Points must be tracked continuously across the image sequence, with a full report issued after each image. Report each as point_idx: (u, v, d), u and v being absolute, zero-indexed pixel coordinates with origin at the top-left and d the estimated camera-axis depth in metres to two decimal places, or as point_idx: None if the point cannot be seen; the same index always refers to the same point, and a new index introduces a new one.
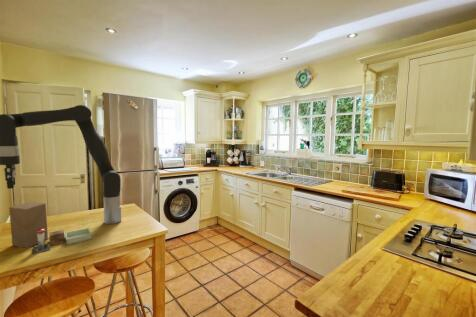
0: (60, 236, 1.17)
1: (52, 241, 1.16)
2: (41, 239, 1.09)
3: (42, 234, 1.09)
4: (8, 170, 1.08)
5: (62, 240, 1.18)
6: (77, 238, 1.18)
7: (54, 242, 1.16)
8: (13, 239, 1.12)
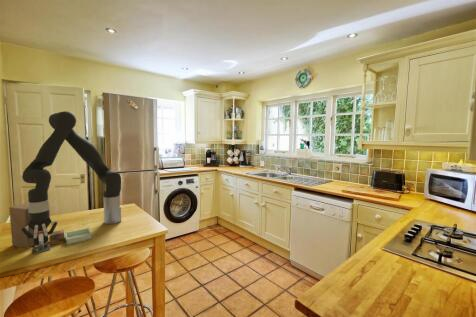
0: (60, 236, 1.17)
1: (52, 241, 1.16)
2: (41, 239, 1.09)
3: (42, 234, 1.09)
4: None
5: (62, 240, 1.18)
6: (77, 238, 1.18)
7: (54, 242, 1.16)
8: (13, 239, 1.12)
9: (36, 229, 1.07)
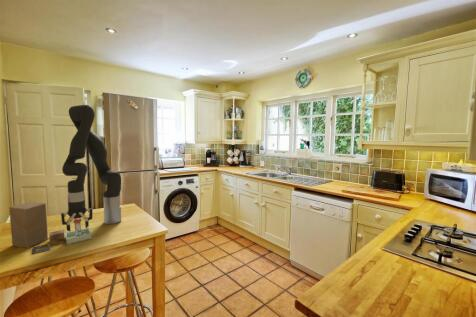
0: (60, 236, 1.17)
1: (53, 241, 1.16)
2: (78, 228, 1.21)
3: (79, 224, 1.21)
4: None
5: (62, 240, 1.18)
6: (77, 238, 1.18)
7: (54, 242, 1.16)
8: (13, 239, 1.12)
9: (72, 217, 1.18)
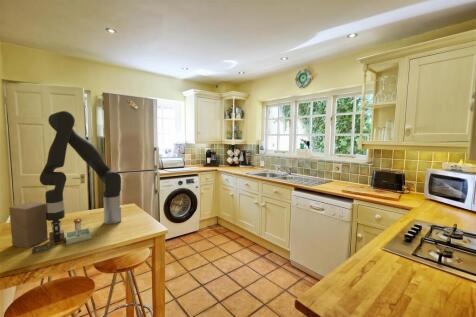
0: (60, 236, 1.17)
1: (53, 241, 1.16)
2: (78, 228, 1.21)
3: (79, 223, 1.21)
4: None
5: (62, 240, 1.18)
6: (77, 238, 1.18)
7: None
8: (13, 239, 1.12)
9: (60, 226, 1.17)
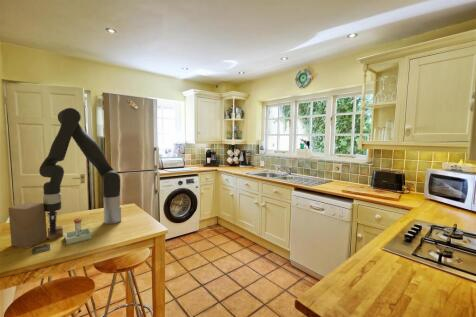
0: (59, 231, 1.23)
1: (51, 236, 1.21)
2: (78, 228, 1.21)
3: (79, 223, 1.21)
4: None
5: (61, 235, 1.24)
6: (77, 238, 1.18)
7: (53, 237, 1.21)
8: (12, 239, 1.12)
9: (56, 217, 1.21)
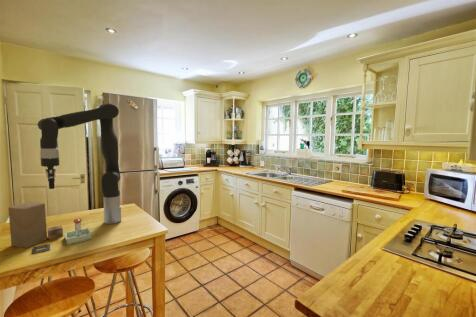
0: (59, 231, 1.23)
1: (51, 236, 1.21)
2: (78, 228, 1.21)
3: (79, 223, 1.21)
4: None
5: (61, 235, 1.24)
6: (77, 238, 1.18)
7: (53, 237, 1.21)
8: (12, 239, 1.12)
9: None
